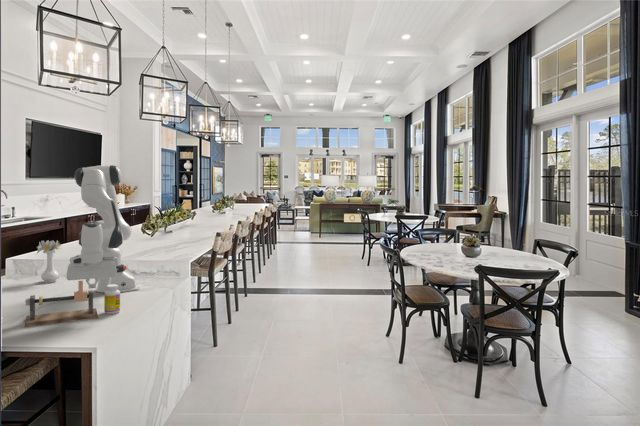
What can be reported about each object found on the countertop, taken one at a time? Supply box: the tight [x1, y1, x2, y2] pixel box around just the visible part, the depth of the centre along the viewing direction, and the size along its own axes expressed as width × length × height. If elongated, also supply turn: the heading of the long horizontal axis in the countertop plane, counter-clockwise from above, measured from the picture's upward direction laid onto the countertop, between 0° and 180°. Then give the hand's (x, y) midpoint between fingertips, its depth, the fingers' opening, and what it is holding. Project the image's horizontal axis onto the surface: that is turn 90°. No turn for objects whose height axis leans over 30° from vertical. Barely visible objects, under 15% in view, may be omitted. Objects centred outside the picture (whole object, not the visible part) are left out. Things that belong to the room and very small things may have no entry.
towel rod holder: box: [24, 289, 99, 327], centre depth 188 cm, size 27×11×11 cm, turn 121°
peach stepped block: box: [73, 279, 88, 303], centre depth 191 cm, size 5×4×9 cm
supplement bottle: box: [103, 284, 121, 315], centre depth 199 cm, size 7×7×13 cm
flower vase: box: [36, 239, 63, 284], centre depth 253 cm, size 13×18×25 cm
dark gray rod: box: [25, 293, 89, 307], centre depth 187 cm, size 24×4×4 cm, turn 121°
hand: (92, 288), depth 193 cm, fingers closed
